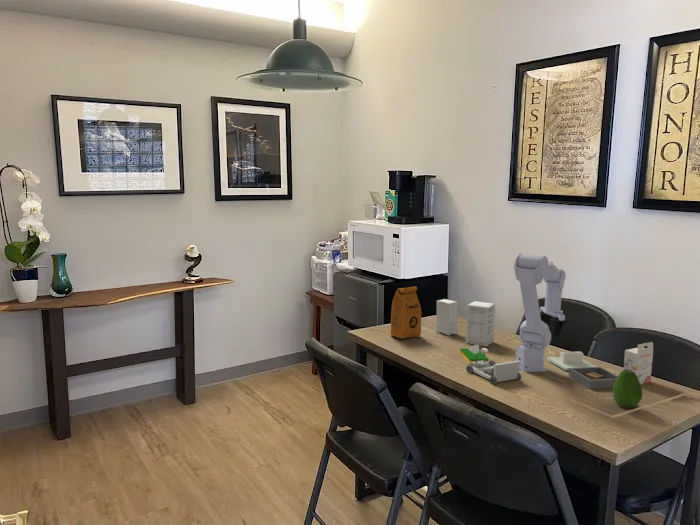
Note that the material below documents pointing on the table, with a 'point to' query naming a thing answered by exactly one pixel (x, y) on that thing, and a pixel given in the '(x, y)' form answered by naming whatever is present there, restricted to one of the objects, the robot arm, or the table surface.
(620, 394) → the avocado
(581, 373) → the storage box
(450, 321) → the skincare box
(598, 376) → the walnut block
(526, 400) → the table surface
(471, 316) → the supplement box
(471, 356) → the dish sponge
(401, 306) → the coffee package
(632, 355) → the ink cartridge box
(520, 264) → the robot arm
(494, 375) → the toy car
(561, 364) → the lid
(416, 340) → the table surface
